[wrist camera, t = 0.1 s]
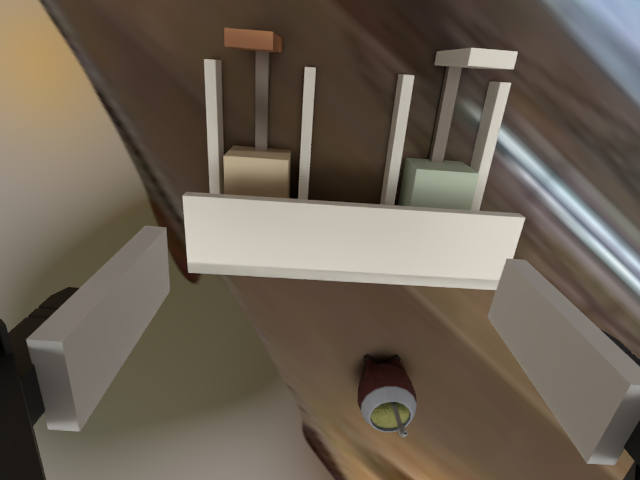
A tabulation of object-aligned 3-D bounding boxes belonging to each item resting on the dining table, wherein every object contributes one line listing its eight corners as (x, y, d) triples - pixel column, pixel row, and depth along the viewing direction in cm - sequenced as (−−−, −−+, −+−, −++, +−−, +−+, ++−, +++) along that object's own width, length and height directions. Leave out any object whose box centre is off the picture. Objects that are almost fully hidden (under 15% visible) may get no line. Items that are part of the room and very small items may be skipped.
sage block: (422, 50, 37) (454, 46, 29) (484, 55, 38) (534, 53, 29) (396, 211, 44) (416, 246, 35) (449, 214, 44) (481, 250, 36)
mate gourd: (377, 395, 55) (397, 505, 41) (339, 364, 53) (347, 469, 39) (419, 367, 53) (455, 472, 39) (381, 332, 51) (406, 432, 37)
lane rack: (210, 59, 37) (172, 57, 27) (499, 81, 38) (564, 88, 28) (217, 225, 44) (188, 272, 34) (461, 240, 45) (503, 290, 35)
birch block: (231, 34, 37) (206, 26, 28) (296, 40, 37) (290, 33, 28) (234, 200, 43) (214, 233, 35) (289, 204, 43) (282, 238, 35)
